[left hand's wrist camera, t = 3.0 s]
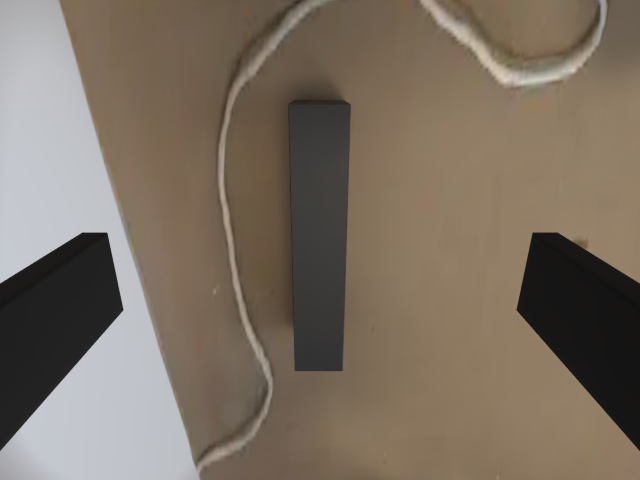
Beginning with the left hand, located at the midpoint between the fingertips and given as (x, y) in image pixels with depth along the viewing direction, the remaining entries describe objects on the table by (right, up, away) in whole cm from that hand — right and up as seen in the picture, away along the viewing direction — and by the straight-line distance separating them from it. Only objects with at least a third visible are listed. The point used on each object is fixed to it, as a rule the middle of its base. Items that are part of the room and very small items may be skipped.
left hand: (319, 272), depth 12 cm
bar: (0, +3, +34) cm, 34 cm away
